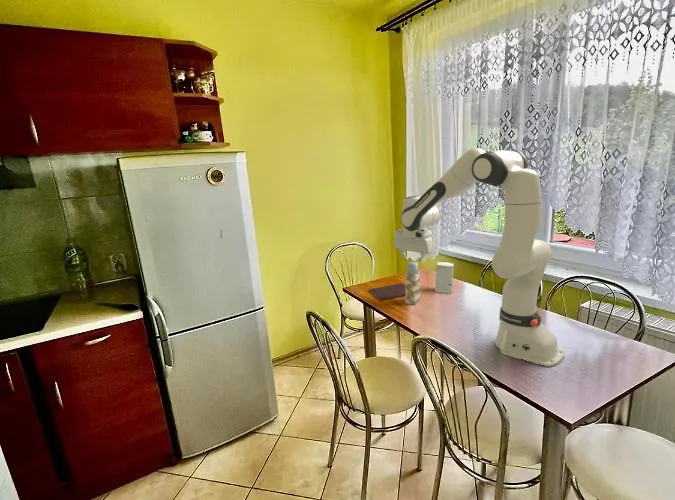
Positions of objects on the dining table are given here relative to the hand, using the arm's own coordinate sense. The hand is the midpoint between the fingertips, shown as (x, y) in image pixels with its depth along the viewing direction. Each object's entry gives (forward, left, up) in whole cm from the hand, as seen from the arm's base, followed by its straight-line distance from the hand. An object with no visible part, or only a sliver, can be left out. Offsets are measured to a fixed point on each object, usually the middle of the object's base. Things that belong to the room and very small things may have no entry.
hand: (412, 260), depth 173 cm
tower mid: (0, 0, -17) cm, 17 cm away
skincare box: (-3, -22, -22) cm, 31 cm away
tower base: (0, 0, -22) cm, 22 cm away
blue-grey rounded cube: (0, 0, -7) cm, 7 cm away
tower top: (0, 0, -12) cm, 12 cm away
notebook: (+16, -3, -22) cm, 27 cm away
